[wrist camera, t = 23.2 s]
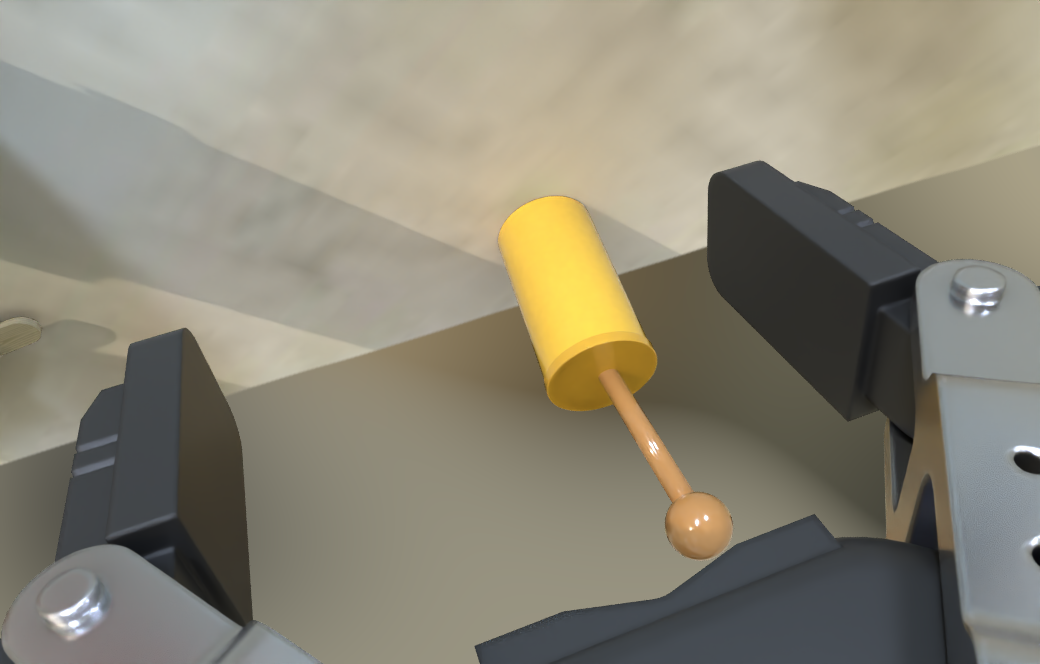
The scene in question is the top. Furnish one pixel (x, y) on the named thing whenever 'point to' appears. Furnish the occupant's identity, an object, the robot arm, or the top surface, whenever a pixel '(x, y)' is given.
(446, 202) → the top surface
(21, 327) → the ice cream bar
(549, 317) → the spoon crock
